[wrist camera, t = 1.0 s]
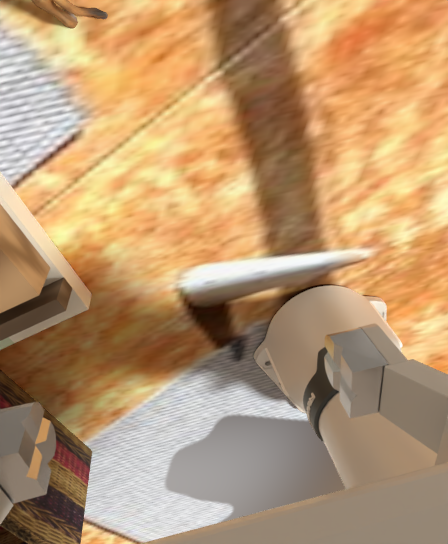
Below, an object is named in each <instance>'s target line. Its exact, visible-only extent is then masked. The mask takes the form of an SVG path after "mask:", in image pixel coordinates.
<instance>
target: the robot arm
mask: <svg viewBox="0 0 448 544" xmlns="http://www.w3.org/2000/svg"><path fill="white" fill-rule="evenodd" d="M386 308H387V307H386V304H385V302H384V301H383V299H381V298H379V297H372V296H363V295H360V294H359V293H357V292H355V291H353V290H351V289H349V288H346V287H342V286H333V285H330V286H320V287H316V288H312V289H309V290H307V291H304V292H302V293H300V294H298V295H296V296H295V297H293V298H292V299H290V300H289V301H288V302H287V303H285V304H284V305H283V306H282V307H281V308H280V309H279V311H278V312H277V313H276V314H275V316H274V317H273V319H272V321H271V323H270V325H269V328H268V331H267V335H266V337H265V340H264V341H263V342H262V343H261V345H260V346H259V347H258V348H257V350H256V351H255V353H254V359H255V361H256V363H257V364H258V365H259V367H260V368H261V369H262V370H263V371H264V372H265V373H266V374H267V375H268V376H269V378H270V379H271V380H272V381H273V382H274V383H275V384H276V385H277V386H278V387H279V389H280V390H281V391H282V392H283V393H284V394H285V395H286V396H287V397H288V398H289V400H290V401H291V402H292V403H293V404H294V405H295V406H296V407H297V408H298V409H299V410H300V411H301V412H302V413H306V414H307V417H308V420H309V422H310V424H311V426H312V428H313V429H314V431H315V432H316V434H317V436H318V437H319V438H320V439H321V440H322V441H323V442H324V443H325V445H326V447H327V449H328V452H329V454H330V456H331V458H332V460H333V463H334V465H335V467H336V469H337V471H338V474H339V476H340V478H341V480H342V482H343V485H344V487H345V490H341V491H338V492H334V493H330V494H326V495H322V496H318V497H315V498H311V499H307V500H303V501H300V502H296V503H292V504H288V505H285V506H281V507H277V508H273V509H270V510H266V511H262V512H258V513H255V514H251V515H247V516H243V517H239V518H236V519H232V520H228V521H224V522H221V523H217V524H213V525H209V526H206V527H202V528H198V529H194V530H190V531H187V532H183V533H179V534H175V535H172V536H168V537H164V538H160V539H156V540H153V541H149V542H145V543H141V544H448V374H445V373H443V372H441V371H438V370H436V369H434V368H432V367H429V366H427V365H425V364H423V363H420V362H418V361H416V360H413V359H412V360H407V359H406V357H405V356H404V355H403V354H402V352H401V347H402V343H401V341H400V339H399V338H398V337H397V335H396V334H395V333H394V331H393V330H392V329H391V327H390V326H389V325H388V323H387V322H386ZM267 361H268V362H267ZM43 414H44V409H43V407H42V406H41V404H40V402H33V403H28V404H23V405H18V406H13V407H8V408H3V409H0V524H1V523H2V521H3V520H4V519H5V517H6V516H7V514H8V513H9V511H10V510H11V508H12V507H13V503H17V502H21V501H24V500H28V499H31V498H35V497H39V496H42V495H46V493H47V489H48V484H49V479H50V474H51V469H50V468H49V466H48V462H49V461H50V460H51V459H52V458H53V456H54V455H55V449H56V434H55V430H54V427H53V425H52V423H51V421H50V420H47V419H45V418H43Z"/></svg>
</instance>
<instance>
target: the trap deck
mask: <svg viewBox="0 0 448 544" xmlns="http://www.w3.org/2000/svg"><path fill="white" fill-rule="evenodd" d="M0 204H1V205H2V207H3V208H4V209H5V210H6V212H7V213H8V214H9V215H10V217H11V218H12V219H13V221H14V222H15V223H16V224H17V226H18V227H19V228H20V229H21V231H22V232H23V233H24V235H25V236H26V237H27V238H28V240H29V241H30V242H31V244H32V245H33V246H34V247H35V249H36V250H37V251H38V252H39V254H40V255H41V256H42V258H43V259H44V260H45V261H46V263H47V264H48V265H49V267H50V271H49V273H48V275H47V278H46V280H45V283H44V285H43V287H44V286H46V285H49V284H51V283H53V282H55V281H57V280H59V279H61V278H65V279H66V281H67V282H68V283H69V284H70V286H71V287H72V292H71V295H70V299H69V302H68V306H67V309H66V311H64V312H62V313H60V314H58V315H56V316H53V317H51V318H49V319H47V320H45V321H43V322H40V323H38V324H36V325H34V326H32V327H30V328H27V329H25V330H23V331H21V332H19V333H16V334H14V335H12V336H10V337H8V338H6V339H3V340H1V341H0V350H1V349H3V348H5V347H8V346H10V345H12V344H14V343H16V342H19V341H21V340H23V339H25V338H27V337H29V336H32V335H34V334H36V333H38V332H40V331H43V330H45V329H47V328H49V327H51V326H53V325H56V324H58V323H60V322H62V321H64V320H67V319H69V318H71V317H73V316H75V315H77V314H80V313H82V312H84V311H86V310H88V309H89V305H90V301H91V296H92V294H91V292H90V291H89V290H88V288H87V287H86V286H85V284H84V283H83V282H82V280H81V279H80V278H79V276H78V275H77V274H76V272H75V271H74V270H73V268H72V267H71V266H70V264H69V263H68V262H67V260H66V259H65V258H64V256H63V255H62V254H61V252H60V251H59V250H58V248H57V247H56V246H55V244H54V243H53V242H52V240H51V239H50V238H49V236H48V235H47V234H46V232H45V231H44V230H43V228H42V227H41V226H40V224H39V223H38V222H37V220H36V219H35V218H34V216H33V215H32V214H31V212H30V211H29V209H28V208H27V207H26V205H25V204H24V203H23V201H22V200H21V199H20V197H19V196H18V195H17V193H16V192H15V191H14V189H13V188H12V187H11V185H10V184H9V183H8V181H7V180H6V179H5V177H4V176H3V175H2V173H1V172H0Z"/></svg>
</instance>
